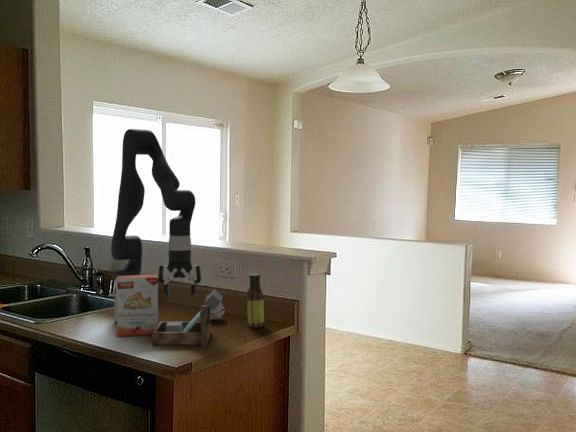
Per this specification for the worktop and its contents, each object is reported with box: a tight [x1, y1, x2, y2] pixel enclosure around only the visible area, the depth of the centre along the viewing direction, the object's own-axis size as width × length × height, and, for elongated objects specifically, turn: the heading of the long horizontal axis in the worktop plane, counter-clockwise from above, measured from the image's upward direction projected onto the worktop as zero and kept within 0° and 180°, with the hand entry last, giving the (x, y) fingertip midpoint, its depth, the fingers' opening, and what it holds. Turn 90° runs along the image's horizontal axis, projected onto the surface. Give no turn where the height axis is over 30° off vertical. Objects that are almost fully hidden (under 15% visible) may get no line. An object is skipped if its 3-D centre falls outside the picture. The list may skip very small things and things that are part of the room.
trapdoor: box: [182, 288, 224, 332], centre depth 182 cm, size 18×12×4 cm
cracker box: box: [116, 274, 159, 338], centre depth 187 cm, size 14×6×21 cm, turn 106°
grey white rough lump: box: [211, 299, 228, 322], centre depth 208 cm, size 9×8×10 cm
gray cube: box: [166, 321, 184, 332], centre depth 182 cm, size 5×5×5 cm
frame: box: [151, 294, 212, 348], centre depth 182 cm, size 18×18×14 cm
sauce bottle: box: [246, 273, 265, 329], centre depth 200 cm, size 7×6×20 cm
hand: (179, 294), depth 181 cm, fingers open, 8 cm apart
